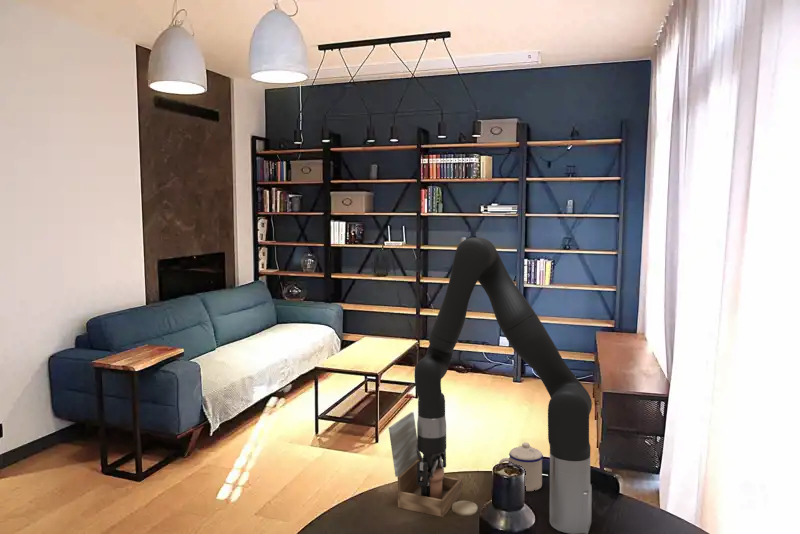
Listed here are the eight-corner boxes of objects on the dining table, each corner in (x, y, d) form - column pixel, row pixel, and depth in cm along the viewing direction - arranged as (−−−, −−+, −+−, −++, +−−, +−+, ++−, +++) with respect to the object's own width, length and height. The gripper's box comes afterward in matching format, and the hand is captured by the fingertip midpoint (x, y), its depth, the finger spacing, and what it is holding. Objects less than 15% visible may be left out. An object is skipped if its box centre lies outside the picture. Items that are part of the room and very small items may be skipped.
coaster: (480, 506, 148) (480, 503, 148) (472, 517, 143) (472, 514, 143) (457, 501, 151) (457, 498, 151) (448, 512, 145) (448, 509, 145)
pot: (447, 496, 153) (447, 468, 153) (439, 506, 148) (438, 478, 147) (426, 491, 156) (425, 465, 156) (416, 501, 150) (416, 473, 150)
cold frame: (461, 494, 156) (461, 418, 154) (443, 517, 143) (442, 435, 142) (411, 484, 162) (410, 411, 161) (389, 505, 150) (388, 427, 148)
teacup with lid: (540, 478, 165) (540, 438, 164) (545, 492, 156) (545, 450, 155) (497, 477, 166) (497, 437, 165) (499, 491, 157) (499, 449, 156)
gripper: (434, 443, 143) (435, 507, 144) (454, 425, 156) (455, 484, 157) (407, 438, 146) (407, 501, 147) (429, 421, 159) (429, 479, 160)
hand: (432, 492), depth 152 cm, fingers open, 8 cm apart
